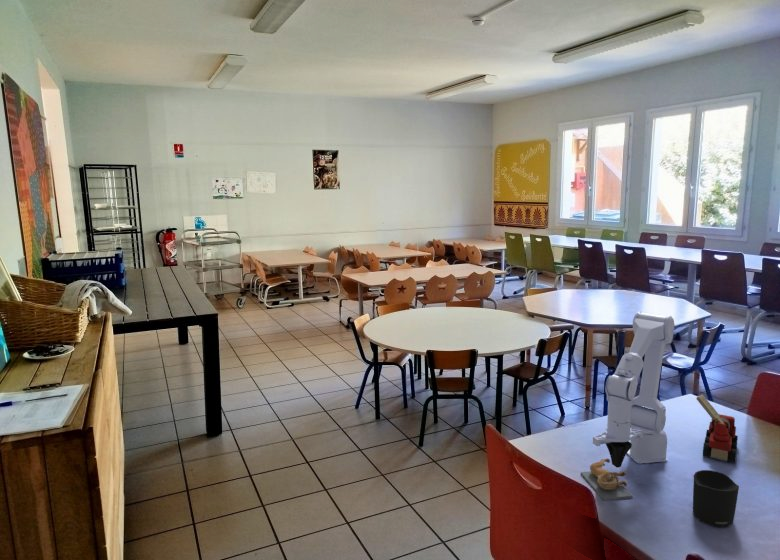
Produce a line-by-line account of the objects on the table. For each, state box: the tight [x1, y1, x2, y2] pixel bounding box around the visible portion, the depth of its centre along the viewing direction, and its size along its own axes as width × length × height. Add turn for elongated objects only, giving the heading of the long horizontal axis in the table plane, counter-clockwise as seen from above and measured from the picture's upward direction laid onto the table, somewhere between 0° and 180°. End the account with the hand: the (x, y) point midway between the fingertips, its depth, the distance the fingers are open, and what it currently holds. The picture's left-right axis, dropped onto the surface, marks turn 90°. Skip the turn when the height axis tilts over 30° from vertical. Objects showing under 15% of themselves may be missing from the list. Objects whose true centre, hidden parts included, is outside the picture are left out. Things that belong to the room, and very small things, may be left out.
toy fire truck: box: [696, 394, 739, 464], centre depth 163 cm, size 11×16×18 cm
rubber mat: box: [580, 470, 633, 501], centre depth 147 cm, size 8×13×1 cm, turn 7°
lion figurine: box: [589, 458, 628, 490], centre depth 148 cm, size 15×5×9 cm
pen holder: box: [692, 469, 740, 528], centre depth 132 cm, size 9×9×10 cm
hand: (616, 465), depth 147 cm, fingers closed
